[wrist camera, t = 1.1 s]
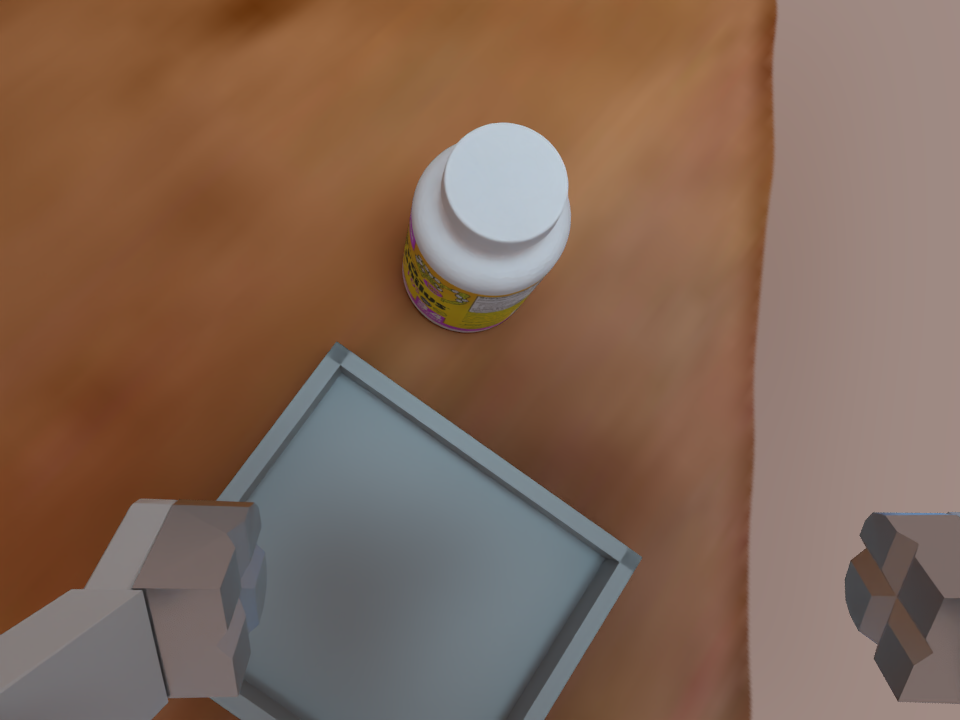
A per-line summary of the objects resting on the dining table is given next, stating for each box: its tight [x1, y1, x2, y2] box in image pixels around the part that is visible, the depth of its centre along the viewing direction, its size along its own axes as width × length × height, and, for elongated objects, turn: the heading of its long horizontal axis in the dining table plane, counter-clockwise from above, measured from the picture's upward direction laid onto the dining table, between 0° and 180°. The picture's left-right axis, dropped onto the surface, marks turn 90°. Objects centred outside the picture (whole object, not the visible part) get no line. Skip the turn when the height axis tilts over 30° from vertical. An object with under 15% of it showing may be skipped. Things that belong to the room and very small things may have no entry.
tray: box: [209, 342, 642, 720], centre depth 37 cm, size 18×16×3 cm
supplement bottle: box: [402, 123, 571, 333], centre depth 35 cm, size 7×7×13 cm
